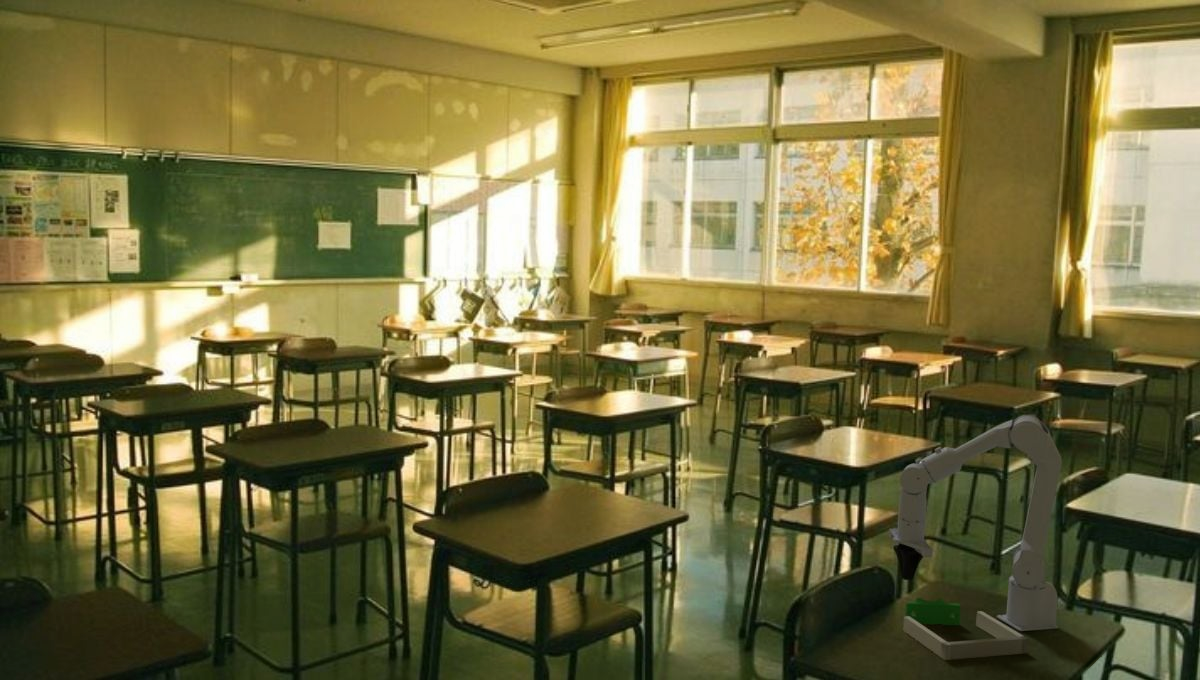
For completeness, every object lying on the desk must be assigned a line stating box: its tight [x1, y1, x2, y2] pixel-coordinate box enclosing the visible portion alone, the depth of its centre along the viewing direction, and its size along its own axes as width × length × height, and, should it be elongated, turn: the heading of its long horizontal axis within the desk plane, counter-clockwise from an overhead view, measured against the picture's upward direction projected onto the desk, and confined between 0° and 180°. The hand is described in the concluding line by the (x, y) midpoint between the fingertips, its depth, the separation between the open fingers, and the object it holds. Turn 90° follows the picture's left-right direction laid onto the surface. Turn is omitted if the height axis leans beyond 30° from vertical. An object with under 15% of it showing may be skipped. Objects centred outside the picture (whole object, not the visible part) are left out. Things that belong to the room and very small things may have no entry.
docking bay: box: [902, 610, 1029, 661], centre depth 205 cm, size 18×15×3 cm
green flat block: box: [904, 597, 962, 626], centre depth 215 cm, size 11×4×5 cm, turn 89°
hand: (907, 578), depth 225 cm, fingers closed
